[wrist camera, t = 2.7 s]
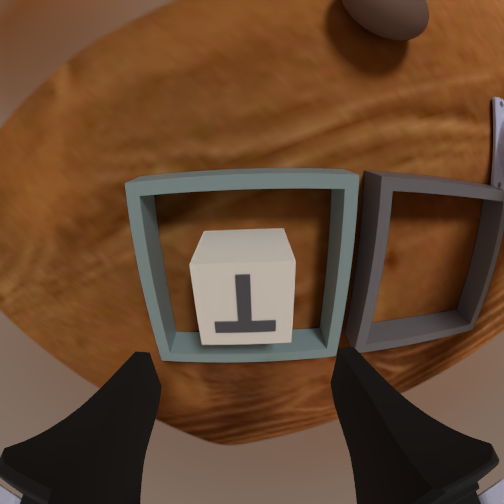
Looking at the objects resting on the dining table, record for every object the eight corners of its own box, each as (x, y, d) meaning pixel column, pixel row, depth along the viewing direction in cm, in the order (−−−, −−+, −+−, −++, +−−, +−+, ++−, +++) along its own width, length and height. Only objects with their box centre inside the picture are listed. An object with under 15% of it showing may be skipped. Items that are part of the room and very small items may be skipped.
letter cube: (283, 228, 18) (296, 261, 13) (282, 296, 20) (291, 343, 15) (204, 230, 18) (189, 265, 13) (211, 298, 20) (201, 345, 15)
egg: (328, 31, 13) (349, 7, 9) (332, -31, 11) (350, -59, 7) (410, 59, 13) (444, 47, 10) (409, -3, 11) (437, -21, 7)
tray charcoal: (490, 185, 16) (510, 192, 14) (459, 315, 21) (472, 329, 19) (364, 170, 16) (381, 176, 14) (344, 333, 21) (353, 353, 19)
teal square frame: (344, 169, 16) (359, 174, 14) (328, 334, 21) (335, 355, 19) (140, 176, 16) (124, 183, 14) (168, 339, 21) (161, 360, 19)
